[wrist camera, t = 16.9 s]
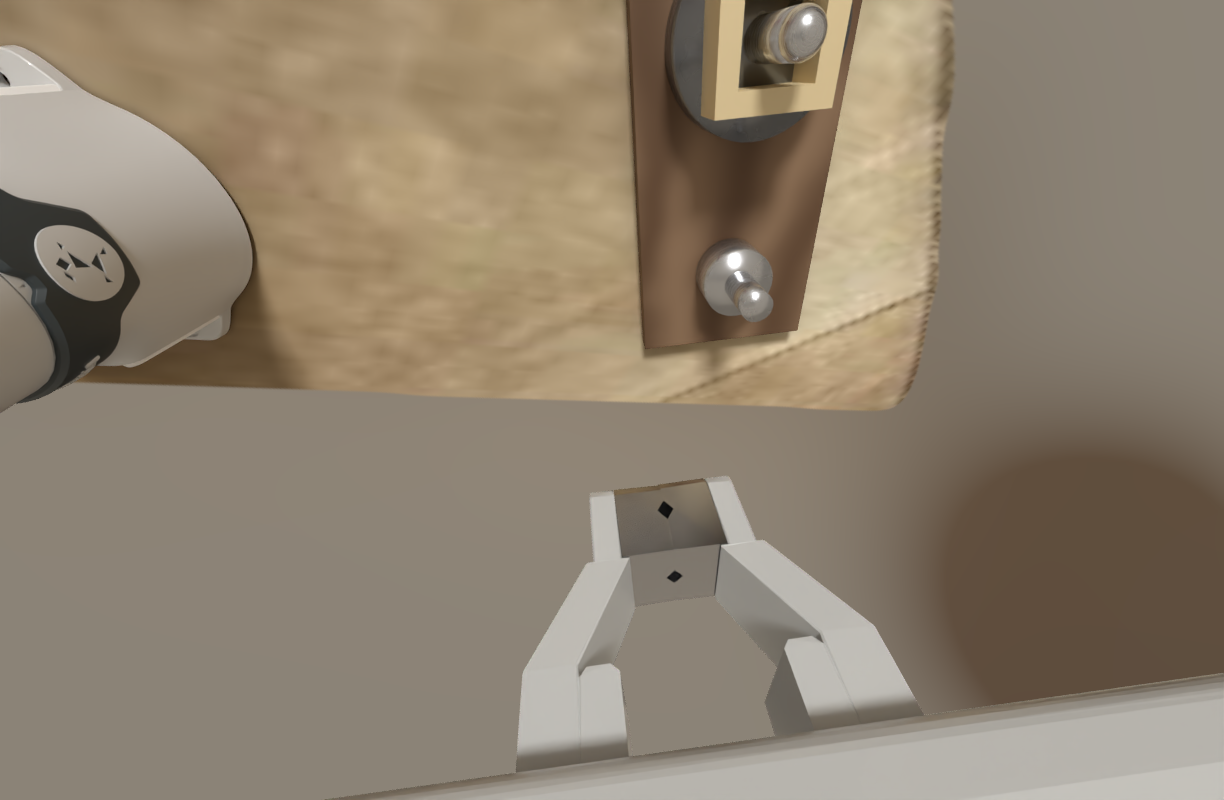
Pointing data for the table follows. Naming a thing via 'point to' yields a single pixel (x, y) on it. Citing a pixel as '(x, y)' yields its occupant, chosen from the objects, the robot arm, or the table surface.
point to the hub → (745, 58)
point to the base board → (718, 196)
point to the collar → (802, 94)
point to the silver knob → (736, 279)
